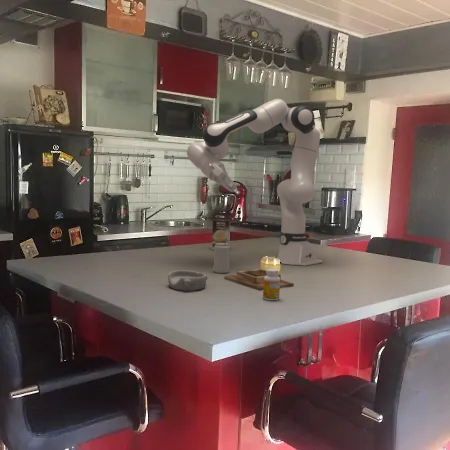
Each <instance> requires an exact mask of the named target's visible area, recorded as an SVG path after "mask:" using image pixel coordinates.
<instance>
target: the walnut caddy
mask: <svg viewBox="0 0 450 450" xmlns="http://www.w3.org/2000/svg"><path fill="white" fill-rule="evenodd" d="M266 270H267V269H249V270H240V271H237V270H236V274H232V275H225V276H224V278H223V279H224V280H228V281H230V282H234V283H237V284H239V285H241V286H245V287H248V288H251V289H254V290H257V291H263V284H264V277H265V276H266V275H267V274H266ZM277 276H278V277H280V289H283V287H284V288H289V287H290V288H291V287H294V285H295V284H294V283H293V282H290V281H285V280H282V279H281V276H282V274H280V273H278V275H277Z"/></svg>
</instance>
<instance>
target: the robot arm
mask: <svg viewBox="0 0 450 450" xmlns="http://www.w3.org/2000/svg"><path fill="white" fill-rule="evenodd" d="M277 125H279V126H280V128H281V129H282V130H283V131H285V132H287V133H294V134H295V144H294V146H293V147H294V148H293V151H292V155H291V158H290V162H289V165H290V170H291V171H290V178H287V179H284V180H283V181H281V182H279V183H278V186H277V188H276V193H277V196H278V199H279V204H280V210H281V229H280V230H281V231H280V232H279V242H280V243H279V248H278V252H277V253H278V254H277V258H279V259H280V261H281V263H280V264H283V265H292V266H293V265H296V266H303V267H306V266H311V265H316V264H320V263H323V260H322V259H320V258H319V257H318V250H317V249H316V247H315V246H314V245H312V244H311V243H310V242H309V241H308V239H311V238H312V234H311V233H307V234H306V220H307V219H306V218H307V217H306V213H305V211H304V208H303V204H307V203H309V202H310V201H312V200H313V198H314V197H315V193H316V190H315V187H314V171H315V170H314V169H315V164H316V160H317V156H318V153H319V148H320V142H321V141H320V139H321V132H320V131H319V129H317V128H316V123H315V113H314V111H313V110H312V108H311V107H309V106H308V105H298V106H293V107H289V106H288V104H287V103H286V102H285V101H284V100H283V99H281V98H274V99H272V100H270V101H267V102H264V103H262V104H261V105H259V106H258V107H256V108H253V109H247V110H243V111H241V112H239V113H236V114H234V115H232V116H230V117H227V118H225V119H223V120H220V121H217V122H212V123H210V124H208V125H207V126H205V127H204V129H203V130H202V139H203V141H193V142H191V143H190V144H189V146H188V148H187V150H186V155H187V158H188V160H189V161H190V162H191V163H192V165H194V166H195V167H196V168H197V169H199V170H200V171H201V172H202V174H203V175H204V176H205V177H206V178H208V179H209V180H210V181H213V182H215V183H216V184H219V185H220V186H222V187H224V189H226V190H228V191H229V192H231V193H235V194H236V195H240V194H241V190H239V189H238V188H237V184H236V183H235V182H234V181H233V179H231V177H230V176H229V175H228V172H227V170H226V167H225V164H224V163H223V162H221V160H223V159H225V157H227V155H228V154H229V143H228V136H229V135H230V134H231V133H233V132H235V131H237V130H240V129H242V128H245V127H248V128H249V129H250V131H252V132H253V133H255V134H262V133H265V132H268V131H269V130H271V129H273V128H274V127H275V126H277ZM277 258H276V259H277Z"/></svg>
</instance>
